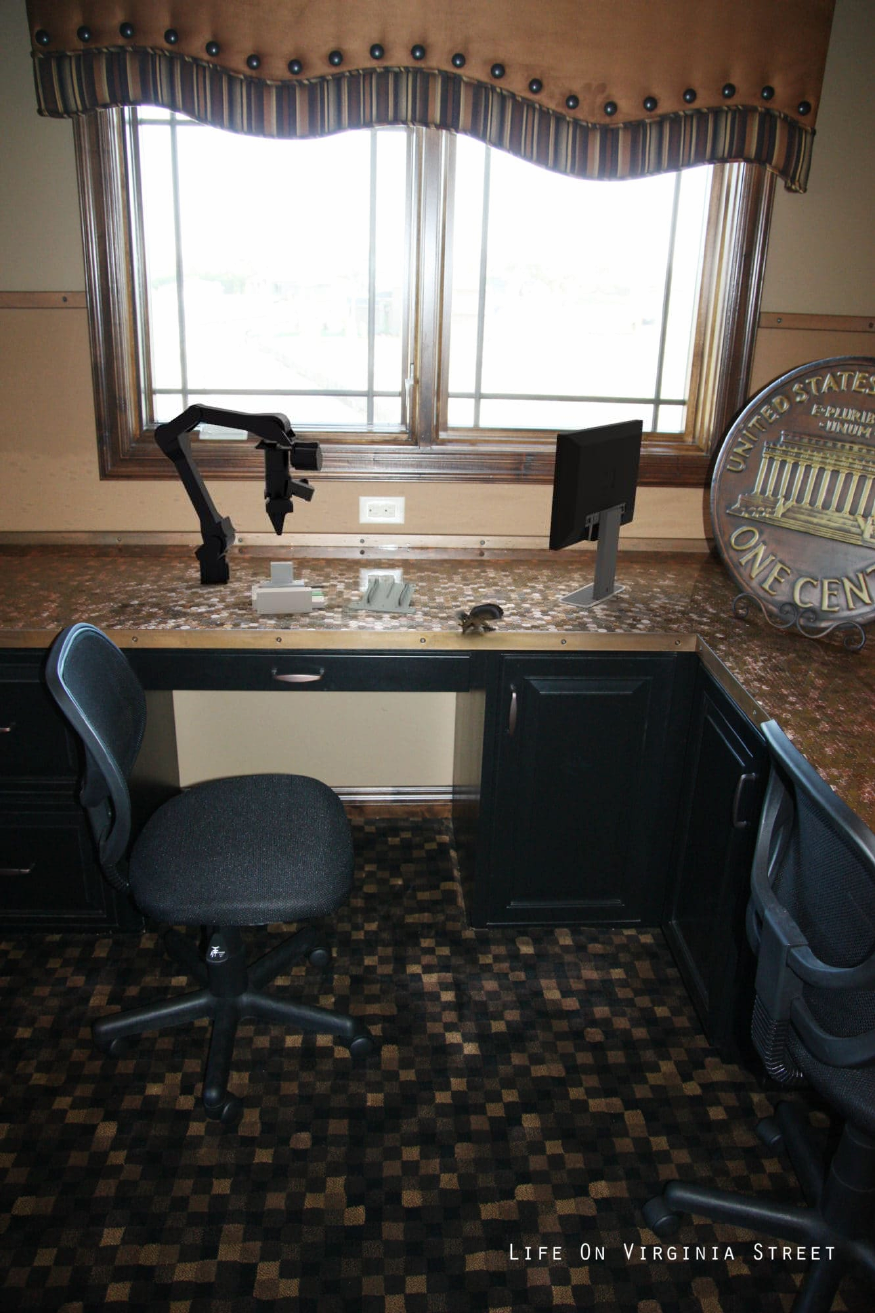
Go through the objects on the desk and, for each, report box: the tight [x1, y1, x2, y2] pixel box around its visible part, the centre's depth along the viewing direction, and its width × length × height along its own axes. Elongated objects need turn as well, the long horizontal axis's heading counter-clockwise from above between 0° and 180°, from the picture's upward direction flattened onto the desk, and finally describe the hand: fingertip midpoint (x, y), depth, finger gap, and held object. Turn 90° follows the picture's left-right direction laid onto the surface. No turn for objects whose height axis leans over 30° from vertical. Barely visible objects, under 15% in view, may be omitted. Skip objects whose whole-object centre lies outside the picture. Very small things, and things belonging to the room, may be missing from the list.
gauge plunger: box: [259, 561, 325, 589], centre depth 212 cm, size 14×4×8 cm, turn 101°
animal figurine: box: [454, 602, 505, 636], centre depth 193 cm, size 8×7×9 cm
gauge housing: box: [251, 584, 326, 615], centre depth 208 cm, size 16×14×5 cm
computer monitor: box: [548, 418, 644, 609], centre depth 215 cm, size 41×8×40 cm, turn 145°
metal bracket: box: [349, 577, 417, 615], centre depth 211 cm, size 14×6×15 cm
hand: (279, 535), depth 218 cm, fingers closed
